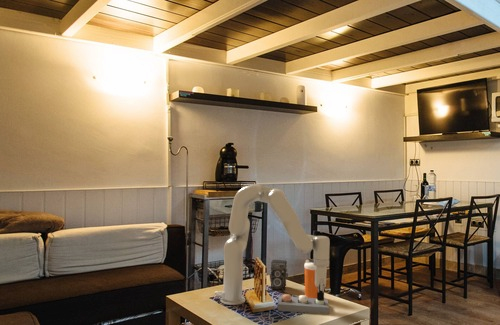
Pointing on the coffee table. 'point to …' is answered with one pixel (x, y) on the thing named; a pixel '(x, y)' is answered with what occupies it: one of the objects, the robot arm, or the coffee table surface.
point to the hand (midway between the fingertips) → (320, 299)
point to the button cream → (303, 299)
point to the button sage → (319, 302)
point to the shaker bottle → (310, 279)
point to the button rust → (286, 298)
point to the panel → (303, 306)
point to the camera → (278, 274)
